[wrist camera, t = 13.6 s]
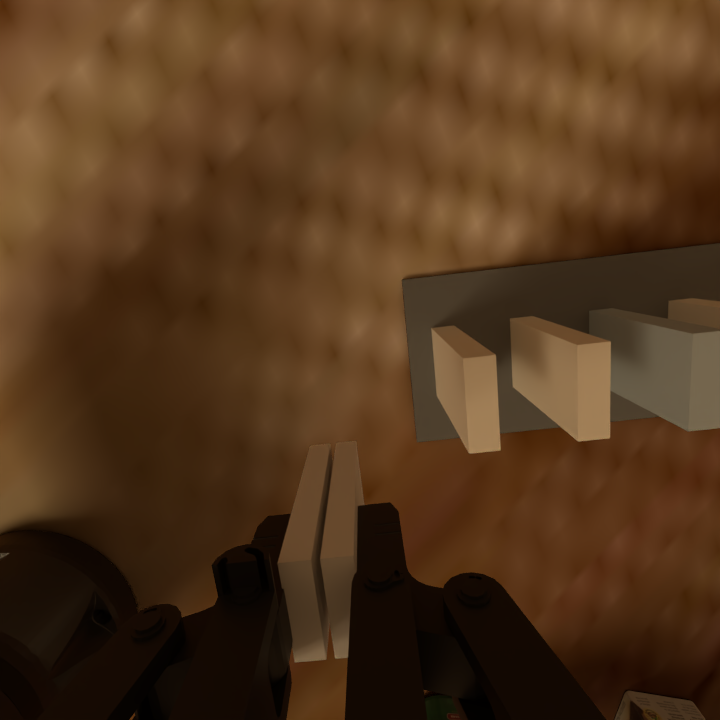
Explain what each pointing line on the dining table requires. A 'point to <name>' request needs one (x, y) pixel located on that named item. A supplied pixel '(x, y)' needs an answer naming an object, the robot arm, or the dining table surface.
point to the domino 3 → (663, 365)
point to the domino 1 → (467, 387)
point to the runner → (548, 302)
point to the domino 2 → (563, 375)
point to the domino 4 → (695, 311)
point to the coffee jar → (441, 708)
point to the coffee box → (656, 708)
